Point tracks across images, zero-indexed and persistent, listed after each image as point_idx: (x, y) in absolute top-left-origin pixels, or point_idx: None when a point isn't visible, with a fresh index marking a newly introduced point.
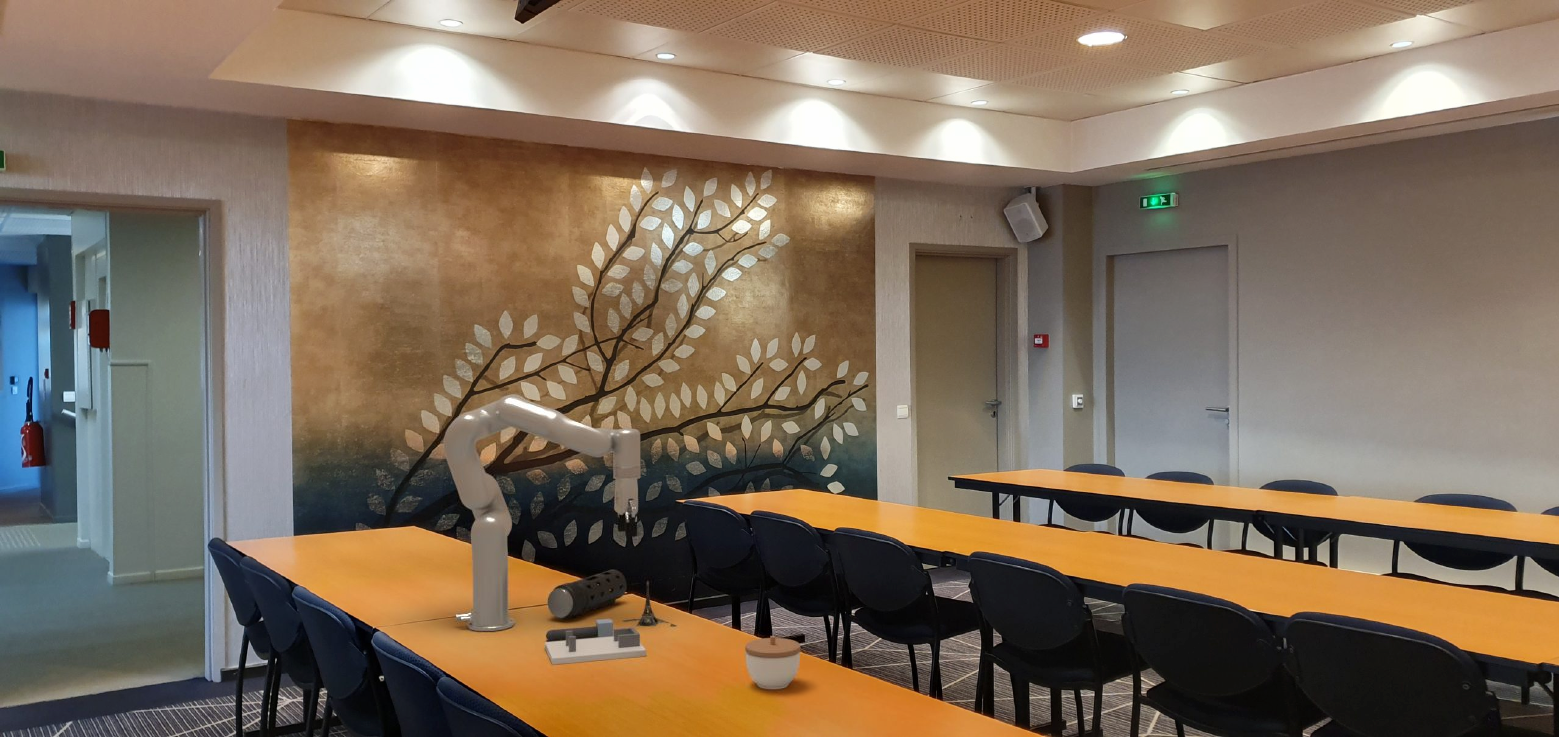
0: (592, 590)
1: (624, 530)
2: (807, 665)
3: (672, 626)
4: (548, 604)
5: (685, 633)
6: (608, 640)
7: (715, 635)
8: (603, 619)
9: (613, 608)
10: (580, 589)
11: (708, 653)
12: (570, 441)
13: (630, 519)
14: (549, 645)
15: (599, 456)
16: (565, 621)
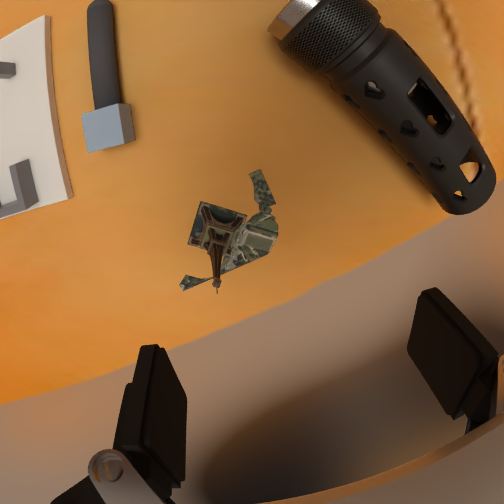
0: (365, 101)
1: (412, 328)
2: (6, 389)
3: (183, 280)
4: None
5: (121, 298)
6: (29, 147)
7: (109, 341)
8: (120, 124)
9: (390, 162)
10: (330, 55)
11: (14, 313)
12: None
13: (79, 485)
14: (21, 32)
15: None
16: None
